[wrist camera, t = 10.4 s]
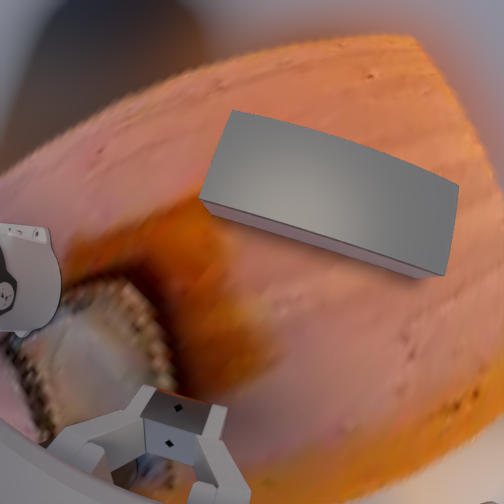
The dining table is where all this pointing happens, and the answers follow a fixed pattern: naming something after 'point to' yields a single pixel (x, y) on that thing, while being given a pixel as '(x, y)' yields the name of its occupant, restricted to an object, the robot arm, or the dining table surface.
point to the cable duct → (317, 241)
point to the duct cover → (333, 190)
